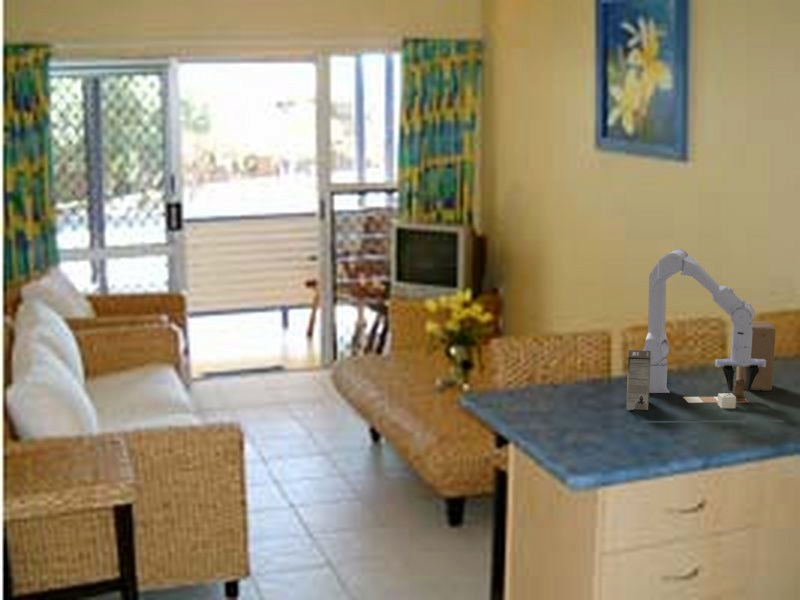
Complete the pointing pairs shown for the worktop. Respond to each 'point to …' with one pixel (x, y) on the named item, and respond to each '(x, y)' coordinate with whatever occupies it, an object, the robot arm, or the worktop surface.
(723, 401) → the die
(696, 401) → the board
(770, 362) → the wooden block
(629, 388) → the coffee box
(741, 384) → the pawn
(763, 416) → the worktop surface
